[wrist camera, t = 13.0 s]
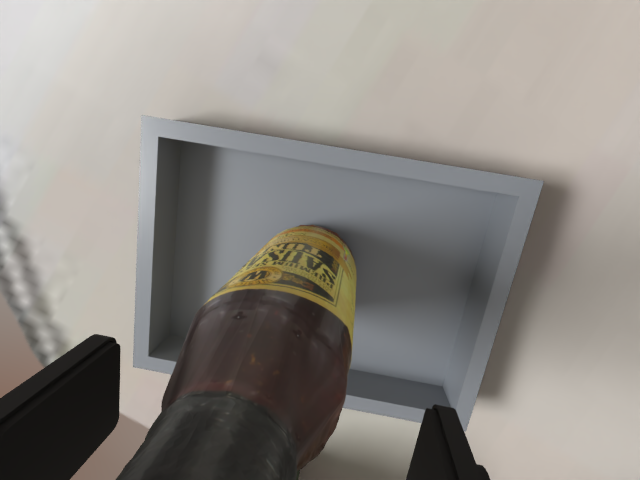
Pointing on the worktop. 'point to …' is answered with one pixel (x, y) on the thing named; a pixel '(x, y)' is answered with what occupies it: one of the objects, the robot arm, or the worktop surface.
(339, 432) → the worktop surface
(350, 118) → the worktop surface
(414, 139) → the worktop surface
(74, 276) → the worktop surface
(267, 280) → the sauce bottle
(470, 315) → the tray
